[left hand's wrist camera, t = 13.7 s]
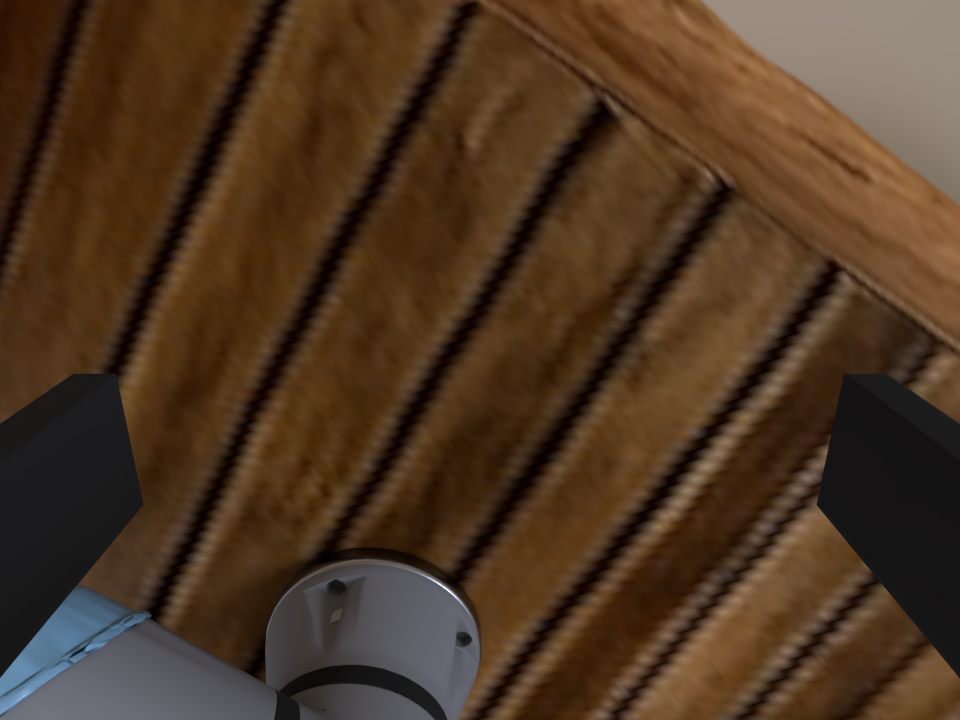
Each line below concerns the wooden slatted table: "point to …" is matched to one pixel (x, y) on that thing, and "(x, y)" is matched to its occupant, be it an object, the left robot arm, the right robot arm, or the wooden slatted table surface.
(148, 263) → the wooden slatted table surface
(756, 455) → the wooden slatted table surface
